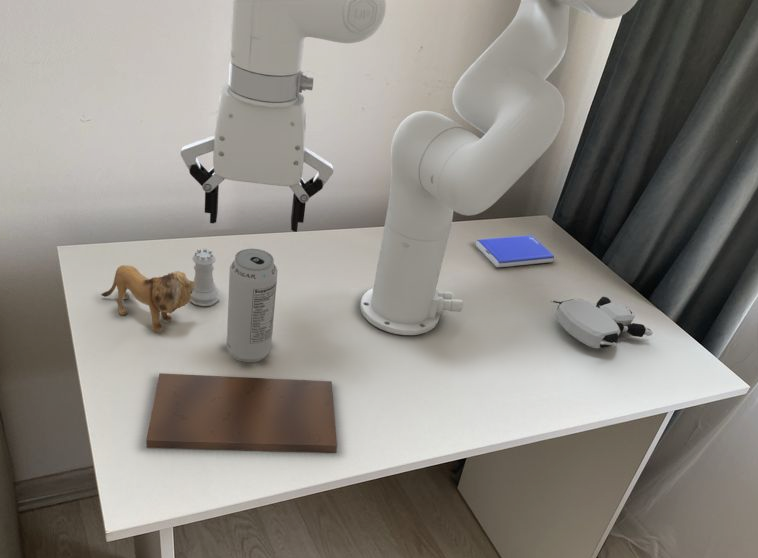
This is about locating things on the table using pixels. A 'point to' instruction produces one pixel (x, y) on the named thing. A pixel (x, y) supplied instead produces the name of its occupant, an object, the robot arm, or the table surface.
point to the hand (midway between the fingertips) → (254, 222)
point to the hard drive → (514, 251)
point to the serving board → (242, 414)
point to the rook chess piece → (204, 279)
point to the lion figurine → (153, 292)
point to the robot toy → (597, 321)
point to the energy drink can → (251, 305)
